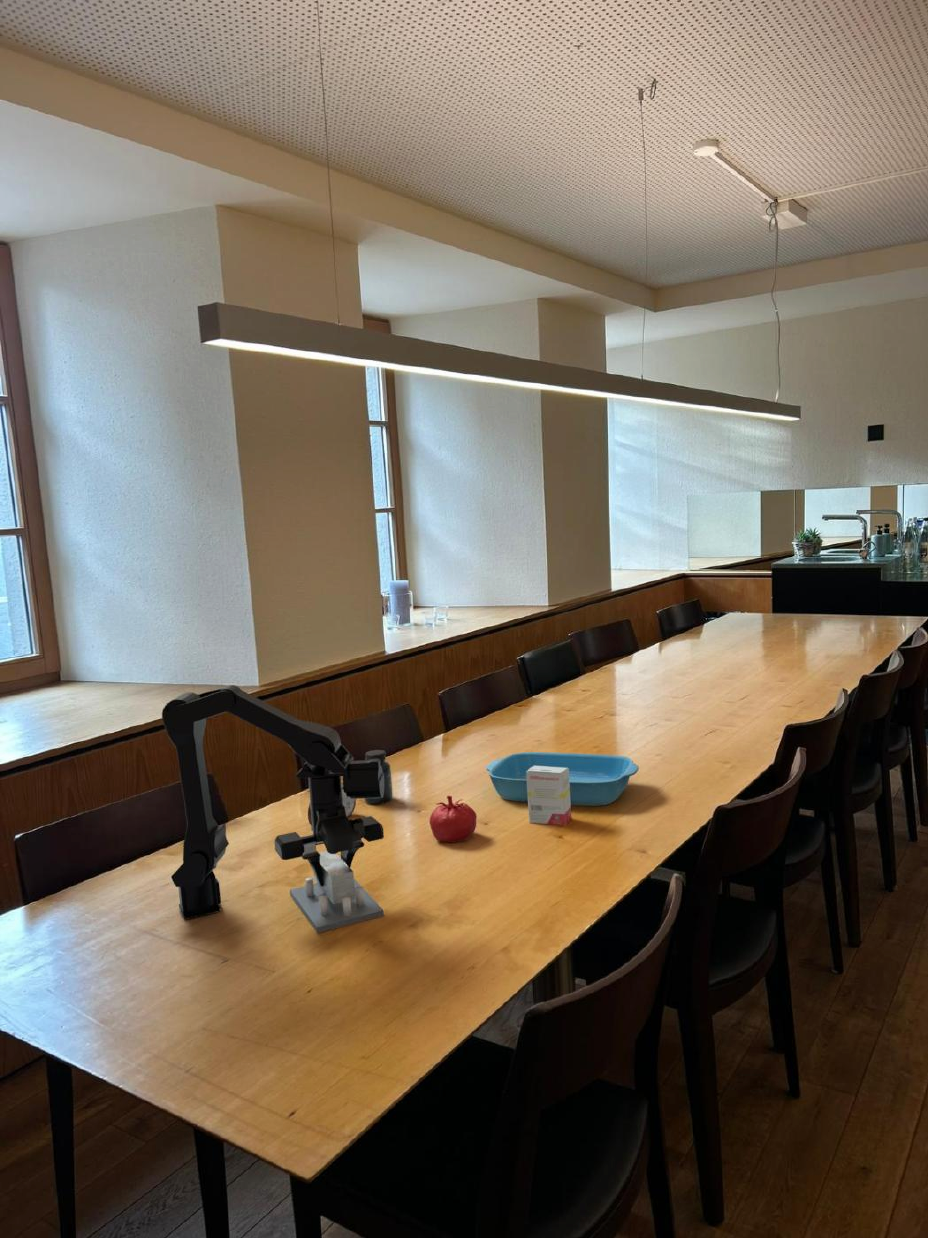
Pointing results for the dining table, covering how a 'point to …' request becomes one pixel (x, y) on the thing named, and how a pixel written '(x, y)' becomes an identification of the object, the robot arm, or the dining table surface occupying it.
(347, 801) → the tin
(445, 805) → the red tomato
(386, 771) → the supplement bottle
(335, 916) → the grey pegged platform
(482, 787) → the dining table surface
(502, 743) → the dining table surface
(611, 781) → the casserole dish
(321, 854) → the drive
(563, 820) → the ink box
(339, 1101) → the dining table surface
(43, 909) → the dining table surface
